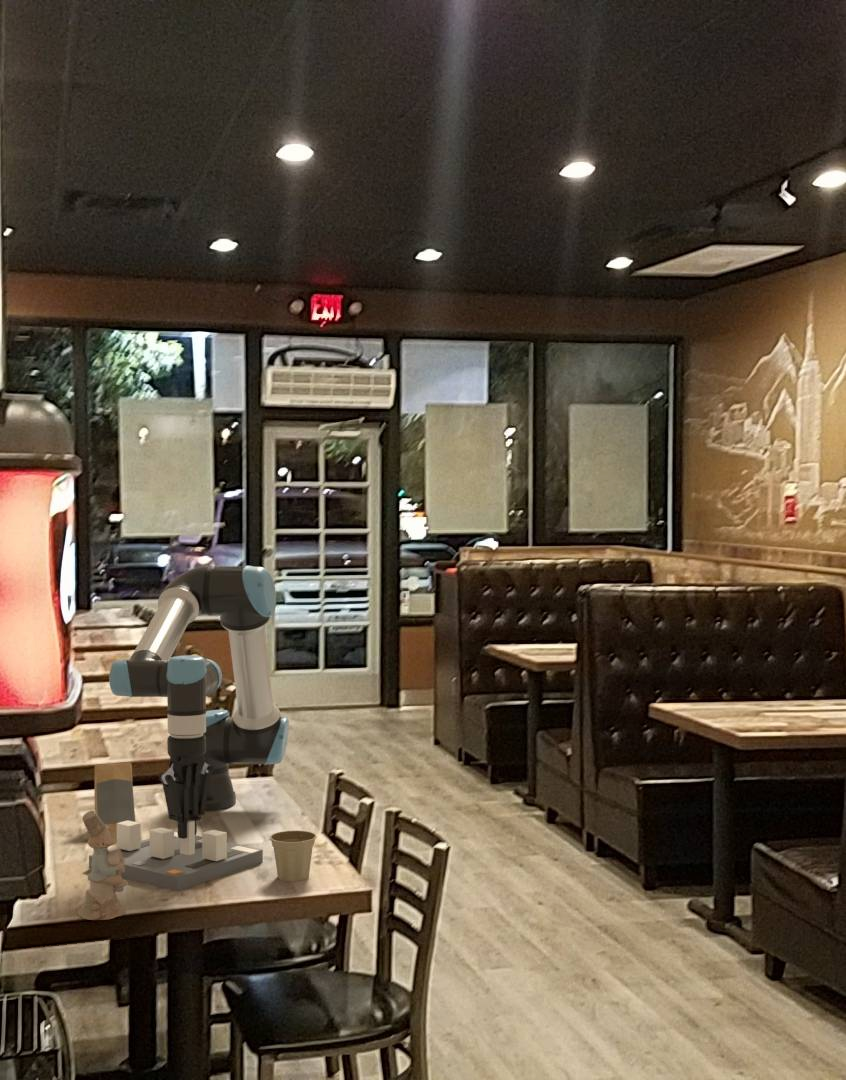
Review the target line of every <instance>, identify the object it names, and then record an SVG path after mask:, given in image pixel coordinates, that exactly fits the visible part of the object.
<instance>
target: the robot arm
mask: <svg viewBox="0 0 846 1080" xmlns="http://www.w3.org/2000/svg"><path fill="white" fill-rule="evenodd" d="M276 604H277V600H276V588H275V583H274V579H273V577H272V575H271V572H269V570H268V569H266V568H265V567H262V566H252V565H245V566H239V565H237V566H235V565H232V566H231V565H229V566H228V565H223V566H222V565H214V566H213V565H202V566H197V567H195V568H191V569H189V570H187V571H185V572H183V573H181V574H179V575H177V576H176V577H175V578H174V579H173V580H171V581H170V583H168V584H167V585H166V586H165V588H164V589H163V590H162V592H161V594H160V595H159V597H158V599H157V610H156V611H155V613H154V615H153V616H152V619H151V621H150V622H149V624H148V626H147V628H146V629H145V632H144V633H143V635H142V637H141V638H140V640H139V641H138V644H137V646H136V647H135V649H134V651H133V652H132V654H131V656H130V658H129V659H126V658H124V659H117V660H114V661H113V662H112V663H111V666H110V669H109V677H108V681H109V688H110V690H111V693H112V694H113V695H114V696H117V697H128V698H135V697H137V698H138V697H139V698H143V697H144V698H148V697H149V698H167V701H166V702H167V734H169V736H168V737H167V742H166V743H167V755H168V756H169V759H170V760H169V763H168V767H167V768H168V769H167V771H165V772H164V773H160V774H159V775H158V779H159V781H160V782H161V783H160V784H161V785H162V789H163V793H164V799H165V802H166V808H167V813H168V818H169V820H172V821H176V822H177V831H178V838H180V853H181V854H186V855H192V854H195V835H196V836H197V832H198V830H197V827H198V826H197V821H201V819H202V816H203V815H204V814H205V812H213V811H222V810H226V809H229V808H232V807H234V806H235V805H236V804H237V795H236V792H235V790H234V787H233V783H232V779H231V776H230V770H229V769H230V767H229V765H230V764H231V765H235V764H236V765H264V766H267V765H278V764H280V763H282V761H283V760H284V757H285V754H286V751H287V745H288V739H289V729H290V728H289V727H290V724H289V723H290V722H289V719H288V717H285V716H281V711H280V708H279V707H278V706H277V705H276V704H274V703H273V702H274V701H273V700H274V699H273V693H272V685H271V684H272V683H271V682H272V681H271V675H270V666H269V664H270V663H269V656H268V655H269V654H268V647H267V646H268V645H267V637H266V627H265V626H266V625H267V624H268V623H270V619H271V616H273V615H274V614H275V612H276V607H277V605H276ZM203 616H208V617H209V616H210V617H211V616H212V617H213V616H214V617H219V621H220V625H221V626H222V627H223V628H224V629H225V630H226V631H227V632H228V637H229V638H228V639H229V645H230V647H229V648H230V653H231V654H230V656H231V663H232V671H233V680H234V686H235V687H234V688H235V694H236V695H235V696H236V702H237V704H236V705H237V709H236V710H235V711H234V713H233V714H232V715H233V716H230V712H229V711H228V710H227V709H213V710H212V709H211V710H206V709H207V708H206V707H207V706H206V705H207V699H206V698H207V697H208V696H211V695H213V694H214V693H215V692H216V691H217V690H218V689H219V687H220V686H221V684H222V681H223V673H222V669H221V667H220V666H219V664H218V663H217V662H215V660H211V659H210V658H209V659H208V658H205V657H203V656H200V655H176V656H173V654H174V652H175V650H176V648H177V647H178V644H179V642H180V640H181V639H182V637H183V634H184V633H185V632H186V628H187V627H188V626H189V624H191V623H193V622H194V621H195V620H196V618H197V617H203Z"/></svg>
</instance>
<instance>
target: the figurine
mask: <svg viewBox="0 0 846 1080" xmlns="http://www.w3.org/2000/svg"><path fill="white" fill-rule="evenodd" d="M82 822H83V824H84V827H85V829H86V830H87V833H88V836H89V838H88V840H87V844H88V846H89V847H90V849H93V853H92V855H93V858H92V862H91V866H92V870H91V871H90V872H89V873H88V874H87V880H88V881H89V884H90V886H89V889H86V890H85V897H84V903H83V904H82V906H80V909H79V910H78V911H77V915H78V916H79V917H80V918H83V919H85V920H87V921H88V920H91V921H105V920H111V919H115V918H117V917H122V916H123V915H125V914H126V908H125V906H124V904H123V903H122V902H121V901H120V900H119V899H118V895H117V892H118V893H121V892H124V887H127V886H128V885H129V882H128V881H127V879H124V878H122V877H121V873H123V872H125V865H124V861H125V860H124V858H123V856H122V853H121V850H120V848H118V849H116V850H113V851H110V852H109V851H108V850H109V849H108V848H109V847H111V846H114V845H117V842H116V839H115V833H110V829H111V828H110V827H109V826H107V825H105V824H104V823H103V822H102V820H101V819H100V817H99V816H98V815H97V813H96V812H95V810H89V811H87V812H86V813H84V814H83V817H82Z"/></svg>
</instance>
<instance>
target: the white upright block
mask: <svg viewBox="0 0 846 1080" xmlns="http://www.w3.org/2000/svg"><path fill="white" fill-rule="evenodd" d="M201 837H202V858H204V859H208V860H213V861H219V860H222V859H225V858H227V842H228V833H227V832H226V831H221V830H217V829H210V830H207V831H203V832H201Z"/></svg>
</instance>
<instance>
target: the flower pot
mask: <svg viewBox="0 0 846 1080" xmlns="http://www.w3.org/2000/svg"><path fill="white" fill-rule="evenodd" d="M317 837H318V835H317V834H316V833H315V832H312V831H309V830H297V829H296V830H294V829H293V830H285V831H283V830H282V831H278V832H274V833H272V834H271V835H270V836H269V840H270V841H271V846H272V847H273V853H274V859H275V866H276V874H277V879H278V880H279V881H284V882H299V881H304V880H307V879H308V878H310V872H311V871H310V870H311V863H312V856H313V855H312V854H313V847H314V845H315V842H316V841H315V840H317Z"/></svg>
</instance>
